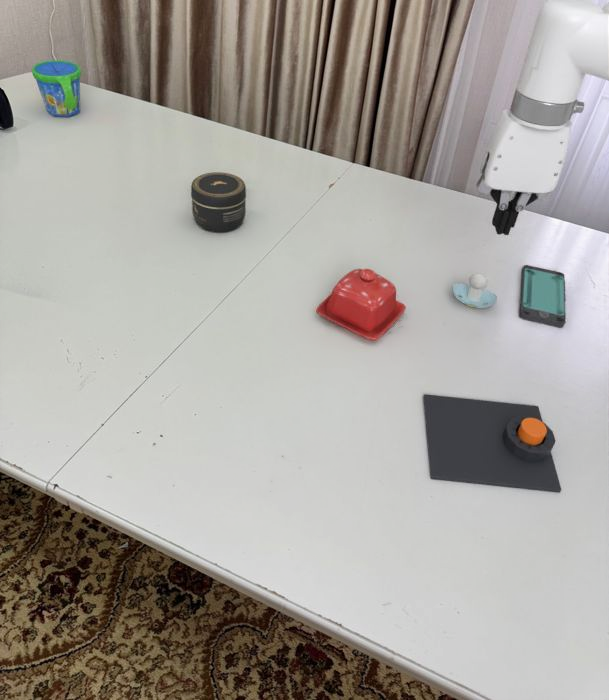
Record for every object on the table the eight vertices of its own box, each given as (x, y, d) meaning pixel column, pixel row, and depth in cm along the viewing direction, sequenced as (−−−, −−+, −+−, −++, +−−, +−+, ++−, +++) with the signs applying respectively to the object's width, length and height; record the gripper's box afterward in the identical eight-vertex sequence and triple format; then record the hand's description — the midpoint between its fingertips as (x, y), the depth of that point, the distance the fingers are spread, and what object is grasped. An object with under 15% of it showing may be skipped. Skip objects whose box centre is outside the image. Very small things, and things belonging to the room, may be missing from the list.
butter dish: (408, 311, 101) (418, 268, 95) (373, 348, 94) (382, 304, 88) (348, 284, 105) (355, 241, 100) (311, 318, 98) (315, 273, 92)
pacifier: (454, 285, 108) (447, 303, 103) (463, 254, 104) (456, 272, 99) (496, 297, 106) (491, 316, 102) (507, 266, 102) (502, 285, 98)
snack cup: (94, 122, 146) (87, 77, 139) (47, 127, 142) (37, 81, 135) (79, 97, 156) (72, 55, 149) (35, 102, 152) (26, 58, 145)
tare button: (539, 427, 81) (544, 418, 80) (544, 446, 79) (549, 437, 78) (515, 425, 81) (519, 416, 80) (519, 444, 79) (524, 435, 78)
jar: (182, 217, 118) (179, 180, 112) (225, 202, 123) (224, 166, 118) (213, 240, 112) (211, 203, 107) (256, 224, 118) (257, 187, 112)
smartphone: (520, 312, 101) (524, 263, 112) (518, 318, 102) (521, 268, 113) (567, 323, 100) (566, 272, 111) (564, 329, 101) (563, 278, 111)
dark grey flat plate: (537, 409, 87) (543, 397, 85) (560, 493, 76) (567, 481, 75) (422, 397, 87) (426, 384, 85) (430, 479, 77) (434, 467, 75)
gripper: (589, 102, 83) (544, 221, 96) (479, 91, 83) (448, 212, 96) (607, 124, 78) (556, 248, 90) (488, 113, 78) (454, 239, 90)
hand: (500, 229), depth 93 cm, fingers closed
